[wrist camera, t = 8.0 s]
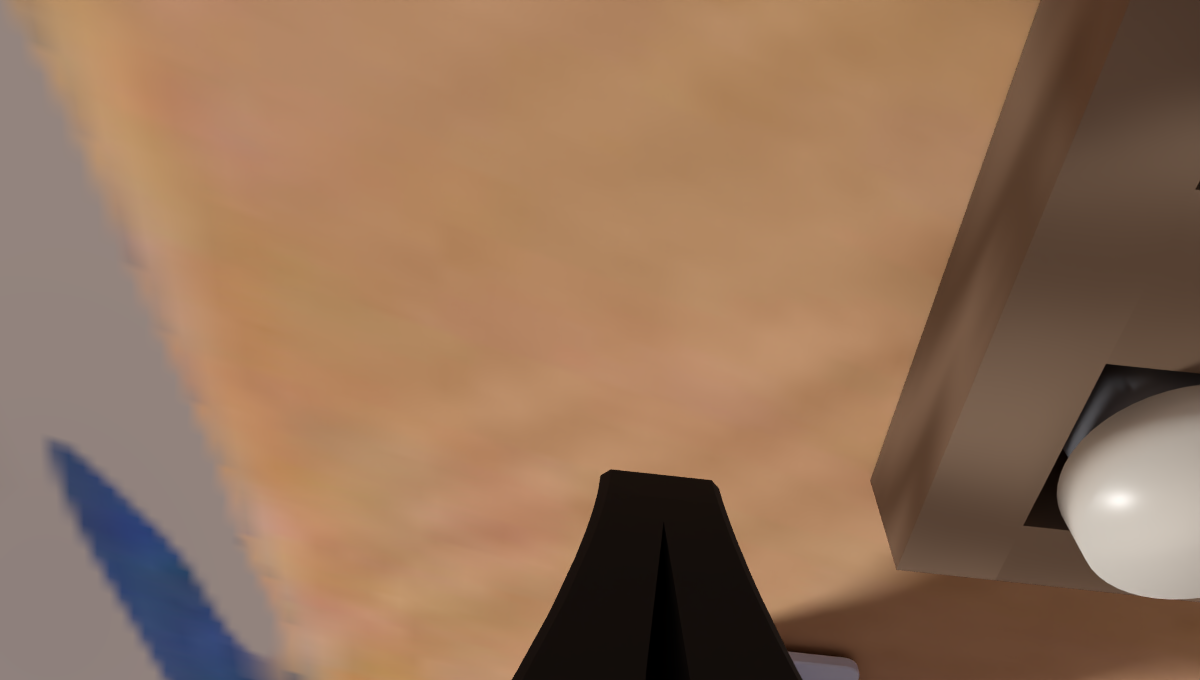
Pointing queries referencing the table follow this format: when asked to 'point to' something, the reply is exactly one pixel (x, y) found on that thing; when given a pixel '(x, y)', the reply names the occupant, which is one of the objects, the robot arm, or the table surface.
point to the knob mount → (1052, 291)
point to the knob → (1137, 481)
